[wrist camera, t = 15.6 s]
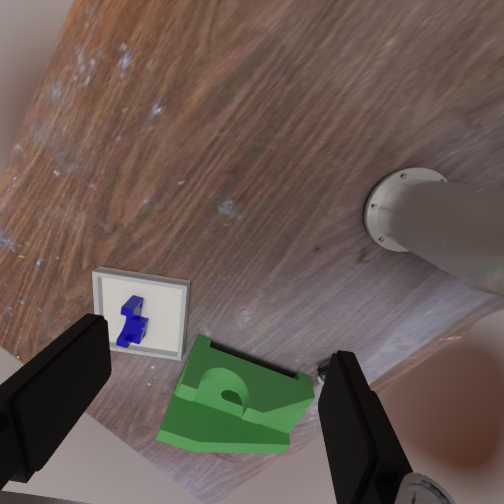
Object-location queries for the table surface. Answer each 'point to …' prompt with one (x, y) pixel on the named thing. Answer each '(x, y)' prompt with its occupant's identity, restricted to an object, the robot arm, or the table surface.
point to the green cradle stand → (233, 404)
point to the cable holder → (132, 323)
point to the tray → (144, 309)
